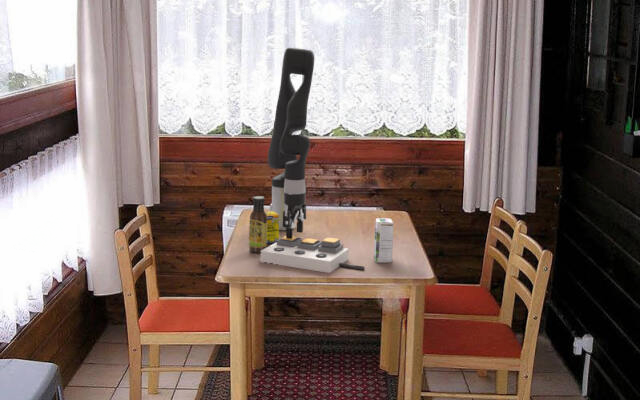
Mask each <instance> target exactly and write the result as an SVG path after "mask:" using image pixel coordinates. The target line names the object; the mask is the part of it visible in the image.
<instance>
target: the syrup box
mask: <svg viewBox="0 0 640 400" xmlns="http://www.w3.org/2000/svg"><path fill="white" fill-rule="evenodd" d="M394 224H395V223H394V222H393V220H392V219H391V218H386V217H385V218H384V217H380V218H379V217H378V218H375V226H374V239H373V240H374V245H373V250H374V251H373V259H374V261H375V263H377V264H378V263H382V264H383V263H392V262H393V248H394V247H393V243H394V241H393V240H394Z"/></svg>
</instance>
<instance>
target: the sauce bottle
mask: <svg viewBox="0 0 640 400" xmlns="http://www.w3.org/2000/svg"><path fill="white" fill-rule="evenodd" d="M252 201H253V207H252V208H253V210H252V211H251V213H250V215H249V226H248V227H249V230H248V231H249V232H248V236H249V238H248V239H249V242H248V244H249V245H248V246H249V251H250V252H252V253H256V254H257V253H260V252H261V250H263V249H265V248H267V245H268V244H267V215H266V213H265V212H266V211H265V196H261V195H260V196H259V195H258V196H257V195H256V196H253V197H252ZM260 254H261V253H260Z"/></svg>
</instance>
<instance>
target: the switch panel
mask: <svg viewBox="0 0 640 400" xmlns="http://www.w3.org/2000/svg"><path fill="white" fill-rule="evenodd" d="M285 236H286V235H284V236H283V237H285ZM283 237H281V238H283ZM281 238H279V240H277V242H276V243H271V244H270V245H269V246H266V248H265V249H263V250H261V253H260V262H261V261H262V262H261V263H264V262H267V263H266V264H270V263H273V264H272V265H276V264H278V265H277V266H283V267H284V266H285V267H291V268H296V269H302V270H309V271H316V272H320V273H326V274H327V273H328V274H331V273H332V272H333V271H335V270H336V269H337V268H339V267H341V268H347V269H354V270H361V271H364V270H366V269H365V268H366V267H365V266H364V265H363V266H362V265H357V264H350V263H346V262H348V261H349V248H346V247H345V248H344V244H343V243H340V245H339V246H337V247H336V248H330V247H323V246H322V241H323V240H319V243H317V244H316V245H314V246H313V245H306V244H301V241H303V240H305V239H306V238H304V239H303V238H302V237H298V240H297V241H295V242H286V241H280V239H281Z"/></svg>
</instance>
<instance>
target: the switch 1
mask: <svg viewBox="0 0 640 400" xmlns="http://www.w3.org/2000/svg"><path fill="white" fill-rule="evenodd" d="M284 236H285V237H284ZM284 236H283V238H282V237H281V238H279V239H280V241H286V242H295V241H297V240H298V238H299V237H298V236H293V237H292V238H286V235H284Z"/></svg>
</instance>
